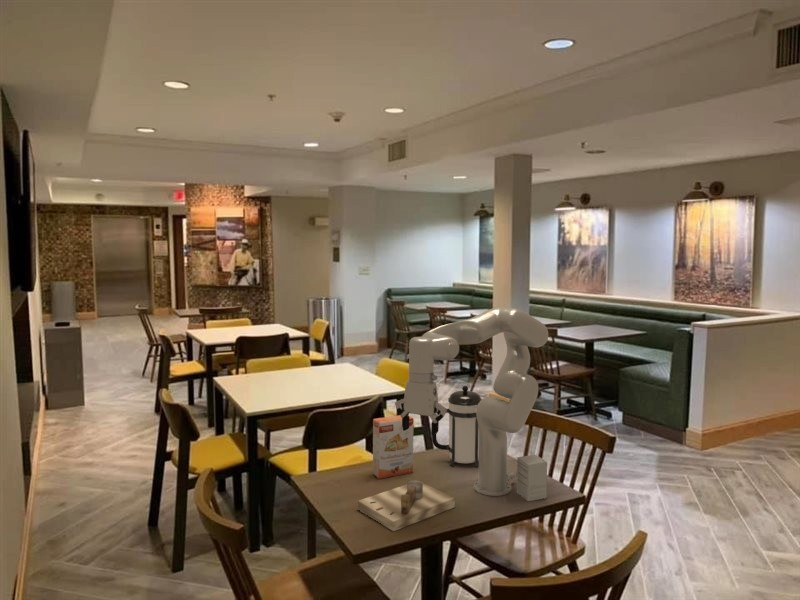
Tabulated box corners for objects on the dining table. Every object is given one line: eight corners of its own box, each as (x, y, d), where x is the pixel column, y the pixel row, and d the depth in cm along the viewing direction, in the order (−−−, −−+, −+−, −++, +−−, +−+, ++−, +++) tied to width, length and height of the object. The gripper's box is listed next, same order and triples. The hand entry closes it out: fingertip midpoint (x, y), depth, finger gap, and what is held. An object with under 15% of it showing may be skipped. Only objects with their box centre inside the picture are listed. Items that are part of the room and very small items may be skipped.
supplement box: (535, 489, 202) (535, 454, 200) (547, 498, 195) (548, 461, 193) (516, 492, 199) (516, 456, 198) (527, 501, 192) (528, 464, 191)
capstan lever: (409, 491, 192) (409, 476, 192) (424, 493, 191) (424, 478, 190) (394, 515, 175) (394, 499, 175) (410, 517, 174) (410, 501, 174)
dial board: (417, 489, 202) (417, 480, 202) (454, 507, 188) (454, 497, 188) (357, 509, 186) (357, 500, 186) (393, 531, 172) (393, 520, 172)
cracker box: (379, 480, 210) (379, 422, 208) (372, 474, 215) (372, 418, 213) (414, 473, 216) (414, 417, 214) (406, 467, 222) (406, 413, 219)
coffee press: (463, 451, 238) (464, 378, 235) (492, 463, 225) (493, 386, 222) (430, 461, 228) (430, 385, 225) (458, 474, 215) (458, 393, 212)
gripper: (451, 378, 180) (450, 433, 181) (401, 372, 188) (400, 424, 189) (442, 383, 173) (440, 440, 175) (390, 376, 181) (389, 431, 183)
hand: (419, 432), depth 182 cm, fingers open, 9 cm apart
